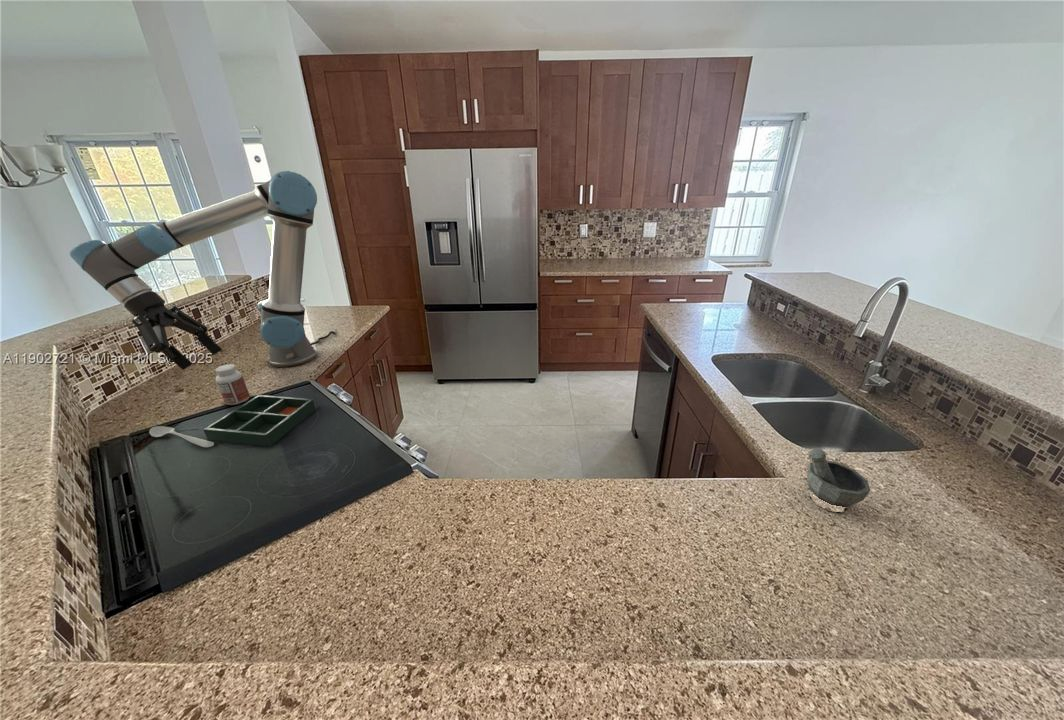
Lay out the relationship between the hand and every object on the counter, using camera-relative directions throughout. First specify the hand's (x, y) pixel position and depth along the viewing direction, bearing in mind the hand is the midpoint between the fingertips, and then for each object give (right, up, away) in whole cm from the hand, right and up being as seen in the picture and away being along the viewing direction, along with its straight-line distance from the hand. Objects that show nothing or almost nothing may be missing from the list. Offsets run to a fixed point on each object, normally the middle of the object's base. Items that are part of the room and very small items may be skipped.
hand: (203, 359), depth 107 cm
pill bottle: (+6, -13, +5) cm, 15 cm away
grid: (+23, -18, -7) cm, 30 cm away
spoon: (+6, -21, -13) cm, 25 cm away
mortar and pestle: (+156, -30, -30) cm, 162 cm away
